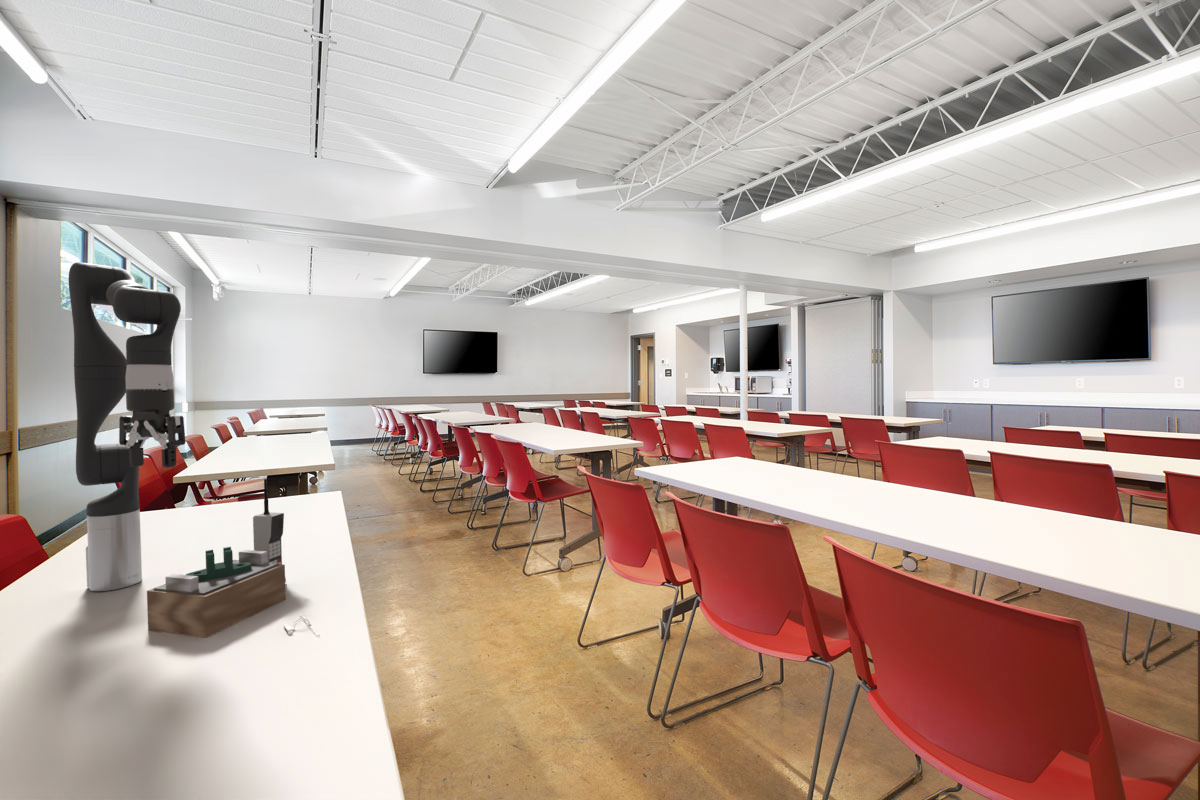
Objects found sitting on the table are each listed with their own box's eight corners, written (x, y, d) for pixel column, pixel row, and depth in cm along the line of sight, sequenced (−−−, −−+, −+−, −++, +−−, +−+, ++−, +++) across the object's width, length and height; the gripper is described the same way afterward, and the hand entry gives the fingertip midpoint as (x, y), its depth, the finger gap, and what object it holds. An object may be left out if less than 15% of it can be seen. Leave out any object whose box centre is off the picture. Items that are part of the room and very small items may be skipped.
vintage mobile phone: (273, 589, 122) (270, 480, 121) (254, 588, 123) (251, 479, 122) (286, 583, 125) (283, 477, 125) (268, 582, 126) (265, 477, 126)
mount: (185, 584, 103) (185, 558, 103) (185, 578, 107) (184, 553, 107) (252, 571, 110) (252, 547, 110) (250, 566, 114) (249, 542, 113)
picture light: (321, 639, 98) (321, 628, 98) (294, 647, 95) (294, 635, 95) (302, 615, 108) (302, 605, 108) (277, 622, 105) (277, 611, 105)
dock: (148, 630, 101) (146, 576, 101) (233, 594, 119) (232, 548, 119) (206, 637, 98) (205, 581, 98) (285, 599, 116) (284, 551, 115)
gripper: (103, 388, 107) (105, 468, 107) (158, 387, 103) (161, 470, 104) (143, 387, 114) (145, 463, 114) (195, 387, 111) (198, 464, 111)
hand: (152, 466), depth 109 cm, fingers open, 8 cm apart
